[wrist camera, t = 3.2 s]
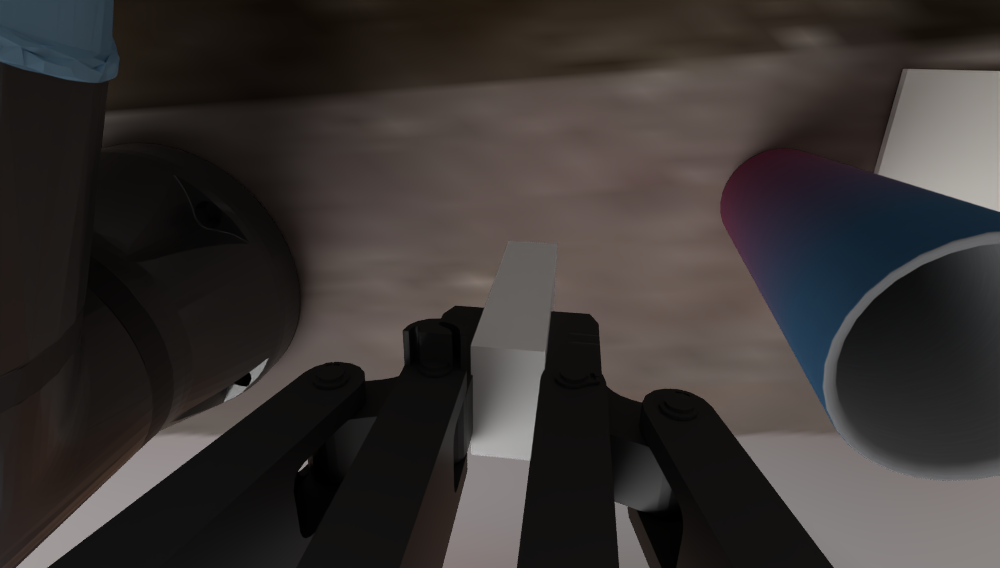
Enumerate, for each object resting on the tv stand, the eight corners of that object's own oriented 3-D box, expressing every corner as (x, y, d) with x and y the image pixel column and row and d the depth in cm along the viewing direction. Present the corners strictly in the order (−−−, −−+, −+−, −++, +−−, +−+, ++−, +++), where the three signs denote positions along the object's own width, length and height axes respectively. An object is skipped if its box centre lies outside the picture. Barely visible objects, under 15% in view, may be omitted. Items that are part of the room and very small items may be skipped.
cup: (709, 279, 29) (828, 494, 15) (692, 147, 26) (815, 263, 13) (855, 253, 27) (1131, 465, 14) (851, 111, 25) (1181, 198, 11)
